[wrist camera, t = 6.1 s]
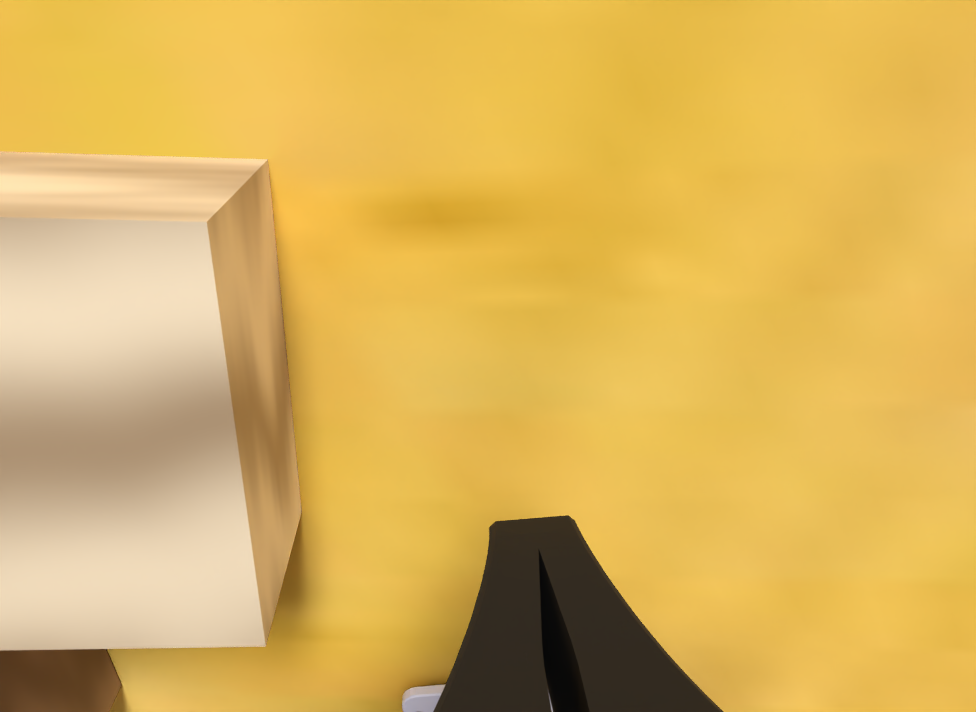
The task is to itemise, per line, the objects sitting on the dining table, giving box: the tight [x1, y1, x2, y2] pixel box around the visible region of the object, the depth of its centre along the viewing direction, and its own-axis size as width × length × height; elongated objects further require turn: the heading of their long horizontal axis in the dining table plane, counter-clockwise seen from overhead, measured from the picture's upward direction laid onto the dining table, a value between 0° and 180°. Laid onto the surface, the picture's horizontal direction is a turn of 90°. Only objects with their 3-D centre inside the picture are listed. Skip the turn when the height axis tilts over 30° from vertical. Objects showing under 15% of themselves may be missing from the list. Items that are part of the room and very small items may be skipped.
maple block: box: [0, 152, 302, 650], centre depth 16 cm, size 10×7×5 cm
